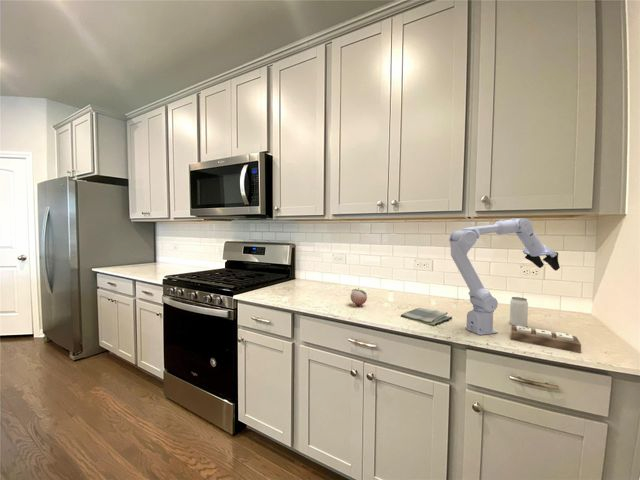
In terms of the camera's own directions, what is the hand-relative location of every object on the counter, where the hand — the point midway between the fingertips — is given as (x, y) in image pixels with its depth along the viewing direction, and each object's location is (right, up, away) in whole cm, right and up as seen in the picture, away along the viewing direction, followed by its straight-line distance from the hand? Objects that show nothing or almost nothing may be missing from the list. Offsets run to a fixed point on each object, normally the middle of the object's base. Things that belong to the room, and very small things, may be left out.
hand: (549, 267), depth 119 cm
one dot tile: (-12, -27, -12) cm, 32 cm away
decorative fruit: (-76, -25, +36) cm, 88 cm away
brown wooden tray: (-12, -27, -12) cm, 32 cm away
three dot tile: (-17, -26, -9) cm, 33 cm away
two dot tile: (-8, -27, -16) cm, 32 cm away
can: (-8, -27, +7) cm, 29 cm away
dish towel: (-46, -27, +16) cm, 56 cm away
